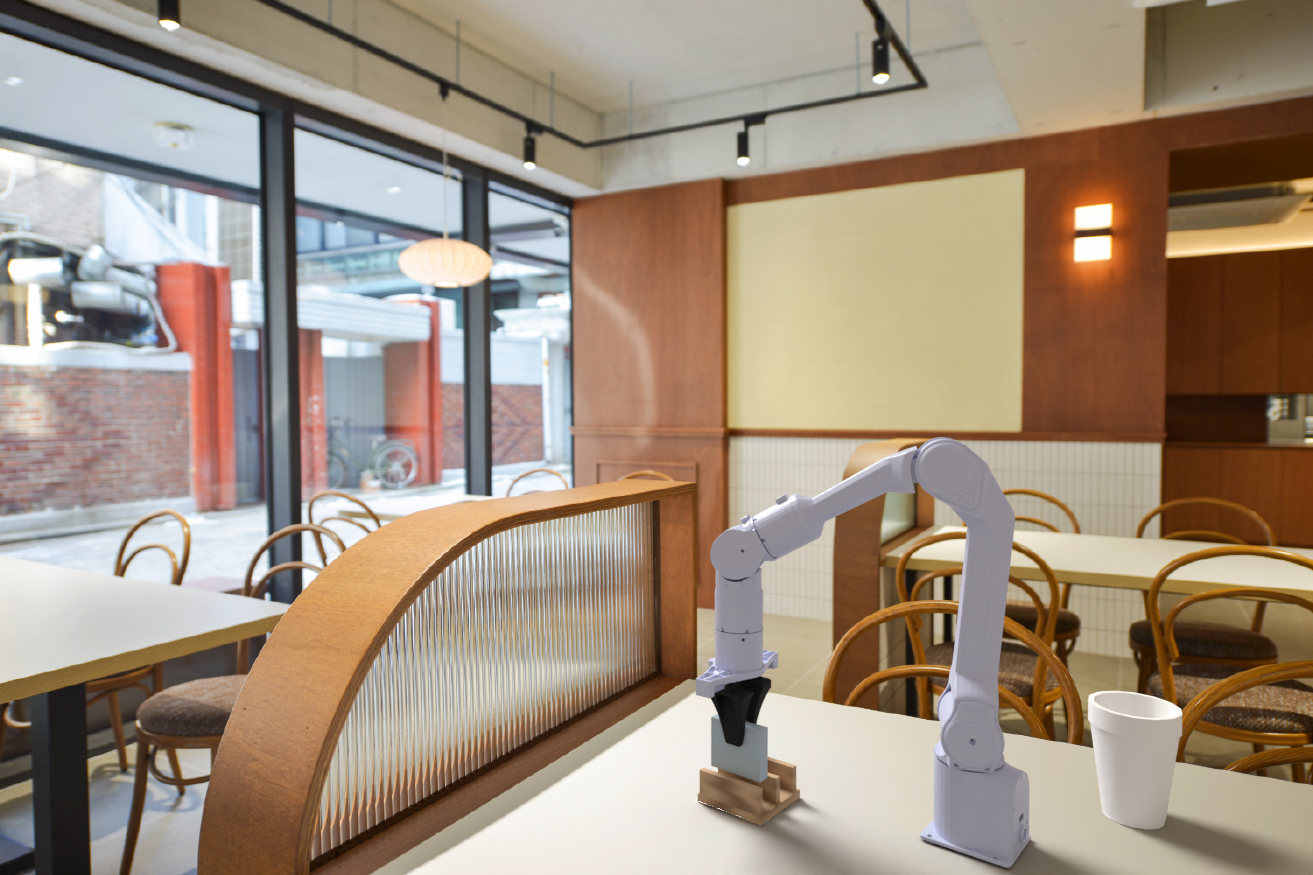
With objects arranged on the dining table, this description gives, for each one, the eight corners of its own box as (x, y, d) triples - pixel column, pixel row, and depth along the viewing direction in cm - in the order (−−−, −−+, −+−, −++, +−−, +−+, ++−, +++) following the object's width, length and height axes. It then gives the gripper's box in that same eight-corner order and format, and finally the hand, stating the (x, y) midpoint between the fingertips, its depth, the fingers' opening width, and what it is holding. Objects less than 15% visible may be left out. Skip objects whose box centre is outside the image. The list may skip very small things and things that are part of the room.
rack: (800, 797, 98) (800, 764, 98) (760, 825, 91) (760, 790, 91) (738, 776, 104) (738, 745, 104) (697, 801, 97) (697, 768, 97)
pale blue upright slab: (767, 777, 94) (767, 727, 94) (760, 782, 93) (760, 731, 93) (718, 761, 99) (718, 712, 98) (711, 765, 97) (711, 716, 97)
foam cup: (1068, 804, 96) (1069, 696, 96) (1125, 791, 99) (1126, 686, 99) (1141, 843, 87) (1142, 724, 87) (1201, 827, 90) (1202, 713, 90)
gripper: (744, 611, 103) (744, 715, 104) (674, 634, 92) (674, 751, 93) (792, 619, 99) (792, 728, 99) (724, 645, 88) (724, 768, 88)
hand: (739, 741), depth 96 cm, fingers closed on pale blue upright slab, 2 cm apart
